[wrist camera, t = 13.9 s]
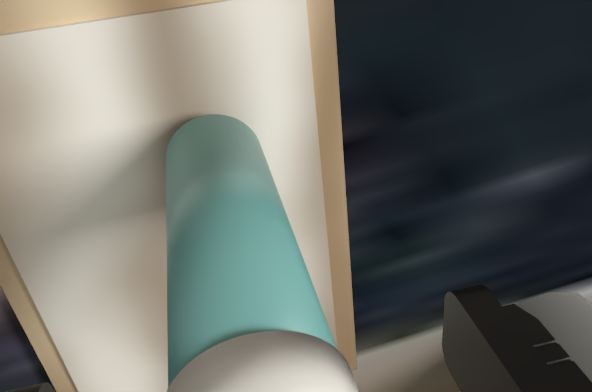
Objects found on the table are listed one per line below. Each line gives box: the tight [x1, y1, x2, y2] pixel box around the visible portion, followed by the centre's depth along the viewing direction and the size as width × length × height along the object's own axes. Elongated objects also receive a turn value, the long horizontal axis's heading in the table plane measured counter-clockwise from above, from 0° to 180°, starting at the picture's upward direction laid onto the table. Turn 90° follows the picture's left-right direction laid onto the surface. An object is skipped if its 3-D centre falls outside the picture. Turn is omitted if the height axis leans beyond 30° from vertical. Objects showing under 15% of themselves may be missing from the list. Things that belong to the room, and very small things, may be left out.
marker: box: [166, 114, 359, 392], centre depth 14 cm, size 4×4×12 cm
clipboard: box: [0, 0, 357, 392], centre depth 21 cm, size 14×20×2 cm
